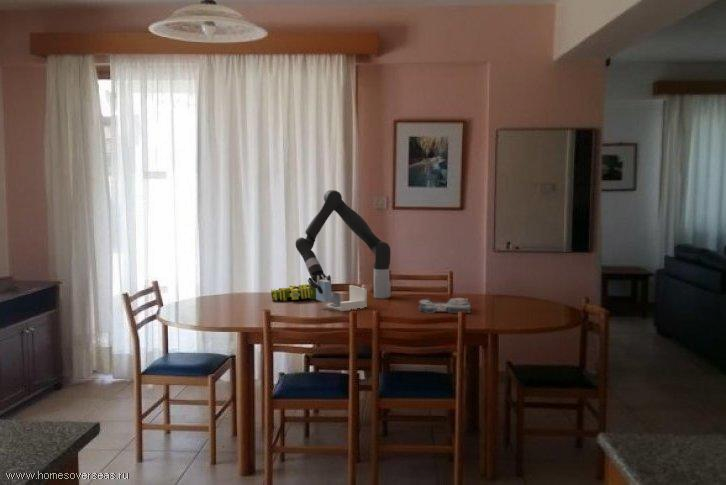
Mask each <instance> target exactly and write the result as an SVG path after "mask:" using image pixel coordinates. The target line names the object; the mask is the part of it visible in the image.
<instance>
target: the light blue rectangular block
mask: <svg viewBox="0 0 726 485" xmlns="http://www.w3.org/2000/svg"><path fill="white" fill-rule="evenodd" d="M318 281H319V284H320V287H321V289H322V291H323V293H322V294H320V293H319V292H318V289H317V288H316V299H315V300H317V301H319V302H323V303H332V302H333V294H332V280H331V281H328V280H323V279H322V280H318Z"/></svg>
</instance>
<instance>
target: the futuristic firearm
mask: <svg viewBox="0 0 726 485" xmlns="http://www.w3.org/2000/svg"><path fill="white" fill-rule="evenodd" d="M418 304H419V306H418V307H417V308H418V310H419V312H423V313H426V314H434V313H436V312H437V313H438V312H441V313H443V312H444V313H445V312H447V313H450V314H451V313H453V314H454V313H455V314H456V313H457V314H458V312H459V311H466V313H468V314H470V313H471V302H470V301H468V297H467V298H463V297H455V298H452V297H451V298H449V299H448V300H447V301H446V302H441V301H438V302H437V301H435V302H434V301H431V300H430V298H429V297H428V298H423V299H422V298H421V299H420V300H419V301H418Z"/></svg>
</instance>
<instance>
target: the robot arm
mask: <svg viewBox="0 0 726 485" xmlns="http://www.w3.org/2000/svg"><path fill="white" fill-rule="evenodd" d="M323 201H324V203H323V205H322V207H321V209H320V210H319V211H318V213H317V214H315V216H314V217H313V219H312V220H311V221H310V223H309V224H308V226H307V228H306V230H305V234H306V236H305V238H304V237H298V238H297V239H296V240H295V248H296V250H297V251H298V253H299V254H300V256H301V257H302V260H303V261H304V263H305V268H306V269H307V271H308V273H309V276H310V277H309V278H308V279H307V282H308V284H309V283H310V285H311V286H312V287H313V288H317V289H318V292H319V293H320V294H322V293H323V291H322V289H321V287H320V284H319V281H318V280H322V279H323V280H328V281H331V282H332V280H331V278H332V277H331V275H330V274H329V275H326V274H325V273H324V270H323V268H322V267H323V266H322V265H321V263H320V261H319V260H318V258H317V256H316V253H315V252H314V251H313V247H314V244H315V242H316V238H317V237H318V235H319V233H320V232H321V231H322V228H323V227H324V225H325V224H326V222H327V221H328V220H329V217H330V216H331V215H332V214H333V212H335V213H336V214H338V216H339V217H340V218H341V220H342V221H343V222H344V223H345V225H347V226H348V228H349V229H350V230H351V231H352V232H353V233H354V234H355V235H356V236H357V237H358V238H359V239H360V240H362V241H363V242H364V243H365V244H366V245H367V247H368V249H369V250H370V251H371V252H372V254H374V256H375V259H374V264H373V298H375V299H389V298H391V296H392V295H391V293H392V292H391V289H392V286H391V285H392V284H391V280H390V266H391V265H390V264H391V246H390V245H389V243H387V242H384V241H382V240H381V239H380V238H379V237H377V235H376V234H375V233H374V232H373V230H372V229H371V228H370V226H369V225H368V222H366V221H365V219H364V218H363V217H362V216H361V215H360V214H359V213H357V211H355V210H354V209H353V208H351V207H350V206H349V205H348V204H347V203H346V202H345V201H344V200H343V197H342V194H341V192H339V191H338V190H334V189H333V190H332V189H329V190H327V191H326V192H325V193H324V195H323Z"/></svg>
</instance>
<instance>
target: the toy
mask: <svg viewBox="0 0 726 485" xmlns="http://www.w3.org/2000/svg"><path fill="white" fill-rule="evenodd" d="M270 294H271V296H270V297H271V300H275V301H277V302H278V301H280V302H285V301H296V300H297V301H298V300H304V299H307V300H308V299H310V300H317V299H316V288H313V287H312V286H311V285H310V283H309V282H308V284H307V283H304V284H298V285H295V284H293V285H289V287H279V288H278V289H276V288H271V289H270Z"/></svg>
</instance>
